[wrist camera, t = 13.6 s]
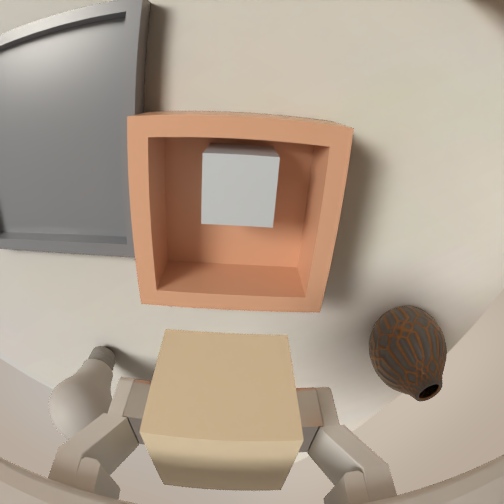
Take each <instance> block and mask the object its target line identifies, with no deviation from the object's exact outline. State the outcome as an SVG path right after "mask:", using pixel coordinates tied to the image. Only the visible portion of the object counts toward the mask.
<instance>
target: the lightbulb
mask: <svg viewBox="0 0 504 504" xmlns="http://www.w3.org/2000/svg"><path fill="white" fill-rule="evenodd" d="M115 360H116V358H115V355H114V353H113V352H112V351H111V350H110V349H108V348H106V347H102V346H98V347H95V348H94V349H93V351H92V353H91V354H90V356H89V358H88V359H87V360H86V361H85V362H84V363H83V365H82V367H81V368H80V369H79V370H78V372H77V373H76V374H74V375H73V376H71V377H69V378H67V379H65V380H64V381H62V382H61V383H59V384H58V385H57V386H56V387H55V388H54V390H53V391H52V393H51V396H50V399H49V414H50V418H51V420H52V422H53V425H54V426H55V427H56V429H57V430H58V431H59V433H60V434H62V435H63V436H64V437H65V438H67V439H68V440H69V439H70V438H72V437H73V436H74V435H76V434H77V433H78V432H80V431H81V430H82V429H84V428H85V427H86V426H87V425H89V424H90V423H91V422H93V421H94V420H95V419H97V418H98V417H99V416H100V415H102V414H103V413H107V414H108V411H109V408H110V405H111V402H112V397H111V390H110V388H111V381H112V377H113V373H112V370H113V367H114V364H115Z"/></svg>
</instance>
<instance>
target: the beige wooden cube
mask: <svg viewBox="0 0 504 504" xmlns="http://www.w3.org/2000/svg"><path fill="white" fill-rule="evenodd" d="M139 432H140V434H141V437H142V439H143V441H144V444H145V446H146V448H147V450H148V453H149V455H150V457H151V459H152V461H153V463H154V465H155V468H156V470H157V472H158V474H159V476H160V478H161V480H162V482H163V484H165V485H173V486H181V487H191V488H202V489H217V490H281V488H282V486H283V484H284V482H285V480H286V478H287V476H288V474H289V472H290V469H291V467H292V465H293V463H294V461H295V459H296V456H297V454H298V452H299V450H300V447H301V445H302V443H303V441H304V439H303V432H302V426H301V419H300V412H299V406H298V399H297V392H296V386H295V380H294V373H293V367H292V361H291V354H290V348H289V342H288V336H287V335H261V334H234V333H214V332H198V331H184V330H171V329H166V330H165V334H164V337H163V341H162V344H161V348H160V352H159V355H158V359H157V363H156V366H155V370H154V374H153V378H152V382H151V386H150V390H149V394H148V398H147V402H146V406H145V410H144V414H143V418H142V423H141V427H140V431H139Z"/></svg>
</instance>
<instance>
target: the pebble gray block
mask: <svg viewBox="0 0 504 504" xmlns="http://www.w3.org/2000/svg"><path fill="white" fill-rule="evenodd" d="M279 162H280V157H279V155H278V153H277V152H276V150H275V148H274V146H266V145H252V144H235V143H210V144H209V145H208V147H207V148H206V149H205V151H204V152H203V160H202V203H201V224H215V225H235V226H253V227H270V228H273V221H274V212H275V202H276V192H277V182H278V172H279Z"/></svg>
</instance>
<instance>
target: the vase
mask: <svg viewBox="0 0 504 504" xmlns="http://www.w3.org/2000/svg"><path fill="white" fill-rule="evenodd" d="M369 352H370V358H371V361H372V364H373V367H374V369H375V371H376V373H377V374H378V376H379V377H380V378H381V380H382V381H383V382H384V383H385V384H386V385H388V386H389V387H391V388H392V389H394V390H397V391H399V392H402V393H405V394H409V395H410V396H412V397H413V398H415V399H416V400H417V401H425V400H428V399H430V398H432V397H433V396H435V395H436V394H437V393H438V392H439V391H440V390H441V388H442V374H443V370H444V366H445V361H446V354H447V350H446V343H445V339H444V335H443V333H442V331H441V329H440V327H439V325H438V324H437V323H436V321H435V320H434V319H433V318H432V317H431V316H430V315H429V314H428V313H426V312H425V311H423V310H421V309H419V308H416V307H411V306H402V307H397V308H394V309H392V310H390V311H388V312H386V313H385V314H384V315H383V316H382V317H381V318H380V319H379V320H378V321H377V323H376V324H375V326H374V327H373V330H372V332H371V335H370V340H369Z"/></svg>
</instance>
